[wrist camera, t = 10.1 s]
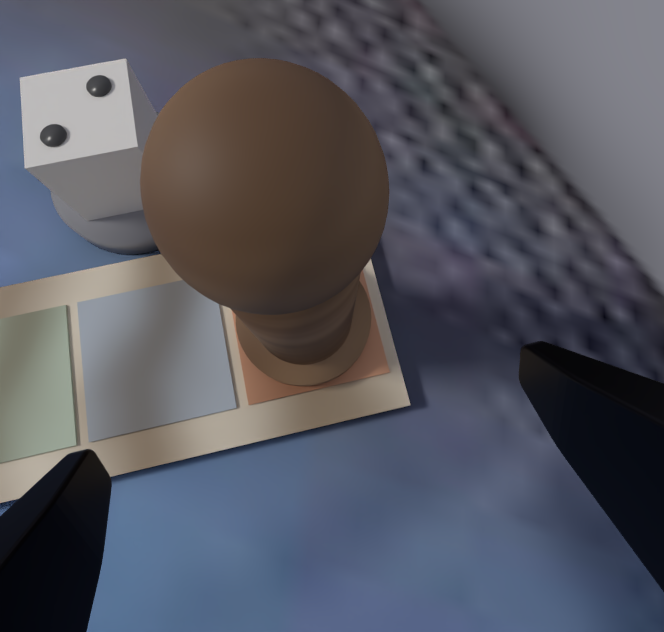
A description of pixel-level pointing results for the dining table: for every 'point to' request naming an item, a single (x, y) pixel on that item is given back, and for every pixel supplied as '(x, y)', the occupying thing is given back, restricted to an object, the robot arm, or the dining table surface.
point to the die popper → (91, 150)
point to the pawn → (271, 210)
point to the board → (155, 374)
